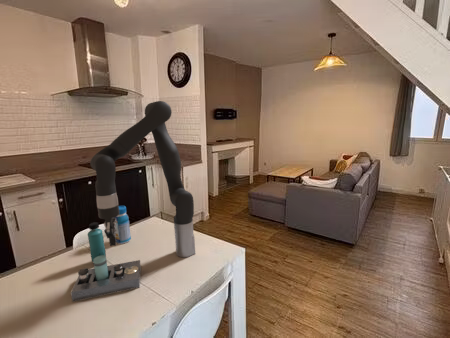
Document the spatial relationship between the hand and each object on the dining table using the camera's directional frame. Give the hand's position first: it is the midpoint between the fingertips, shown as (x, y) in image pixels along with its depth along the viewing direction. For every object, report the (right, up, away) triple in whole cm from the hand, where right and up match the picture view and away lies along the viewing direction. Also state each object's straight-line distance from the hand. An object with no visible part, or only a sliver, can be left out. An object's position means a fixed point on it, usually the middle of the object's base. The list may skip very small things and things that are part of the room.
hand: (113, 244), depth 98 cm
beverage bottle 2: (-12, -10, +39) cm, 42 cm away
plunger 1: (-11, -15, -1) cm, 19 cm away
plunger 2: (+1, -15, +3) cm, 15 cm away
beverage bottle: (-15, -14, +18) cm, 28 cm away
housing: (-3, -17, +3) cm, 17 cm away
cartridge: (-5, -17, +2) cm, 18 cm away
